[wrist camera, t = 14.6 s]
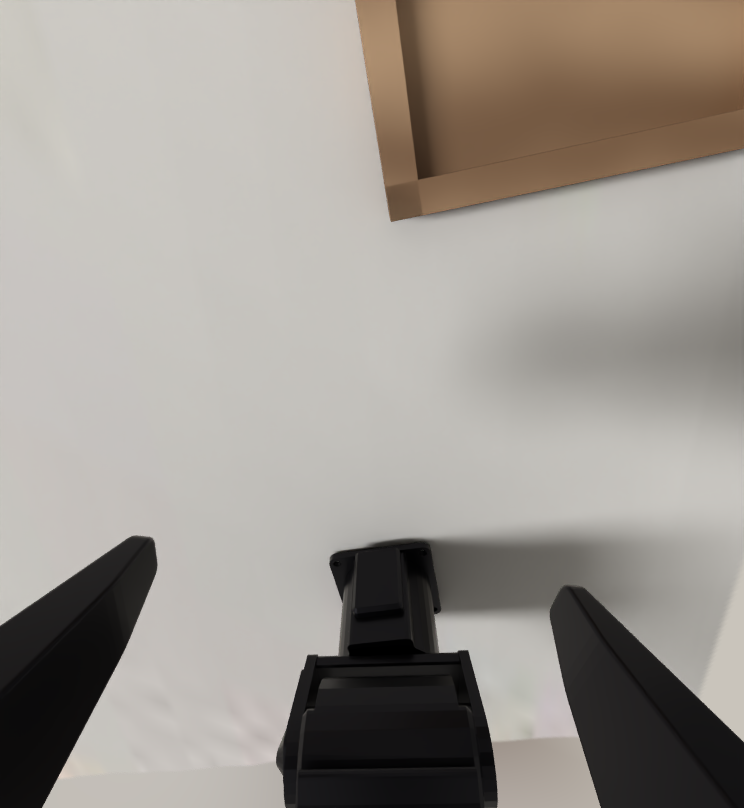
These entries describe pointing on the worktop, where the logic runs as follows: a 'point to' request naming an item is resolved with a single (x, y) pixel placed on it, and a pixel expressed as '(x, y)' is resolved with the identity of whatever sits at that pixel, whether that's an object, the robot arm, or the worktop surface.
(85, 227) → the worktop surface
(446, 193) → the tray
